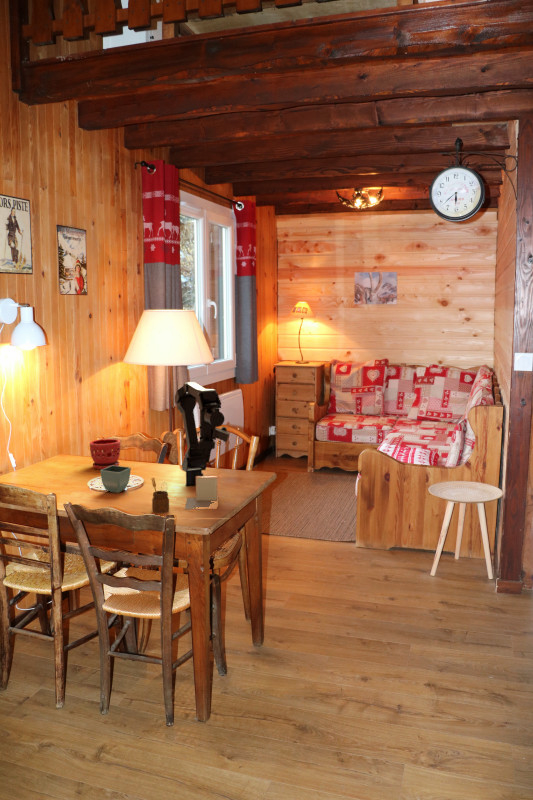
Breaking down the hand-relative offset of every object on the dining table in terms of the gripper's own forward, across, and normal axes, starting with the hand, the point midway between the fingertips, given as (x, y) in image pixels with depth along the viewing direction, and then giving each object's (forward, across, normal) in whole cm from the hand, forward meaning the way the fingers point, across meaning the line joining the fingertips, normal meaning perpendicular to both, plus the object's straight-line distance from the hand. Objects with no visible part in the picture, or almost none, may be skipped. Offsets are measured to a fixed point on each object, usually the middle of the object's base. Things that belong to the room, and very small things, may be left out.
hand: (207, 462), depth 256 cm
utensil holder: (+13, -20, +16) cm, 29 cm away
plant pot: (+13, +43, +47) cm, 65 cm away
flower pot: (+13, +6, +36) cm, 39 cm away
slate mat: (+13, -12, +2) cm, 18 cm away
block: (+13, -8, 0) cm, 15 cm away
